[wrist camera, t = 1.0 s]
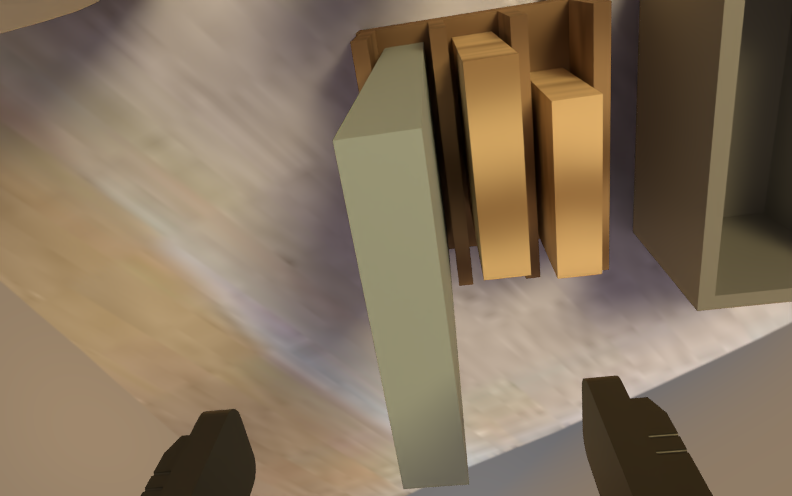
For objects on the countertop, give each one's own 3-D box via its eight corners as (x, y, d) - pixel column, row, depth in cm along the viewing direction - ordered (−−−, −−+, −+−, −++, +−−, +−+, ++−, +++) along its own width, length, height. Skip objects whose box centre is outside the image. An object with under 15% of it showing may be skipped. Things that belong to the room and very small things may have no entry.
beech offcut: (523, 73, 32) (551, 101, 25) (562, 67, 32) (602, 93, 25) (531, 218, 36) (557, 278, 29) (566, 213, 36) (602, 273, 28)
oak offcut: (451, 37, 31) (462, 61, 22) (491, 31, 31) (518, 53, 22) (469, 203, 36) (483, 280, 27) (504, 199, 35) (531, 275, 26)
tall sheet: (384, 48, 32) (332, 140, 14) (423, 42, 32) (421, 128, 14) (414, 239, 37) (403, 489, 19) (447, 235, 37) (469, 484, 19)
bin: (640, -41, 31) (729, -48, 22) (807, -68, 30) (969, -87, 21) (633, 232, 38) (697, 310, 29) (767, 216, 37) (876, 292, 28)
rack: (359, 30, 33) (344, 43, 27) (580, -5, 32) (618, -1, 26) (395, 242, 39) (389, 293, 33) (582, 220, 38) (614, 269, 32)
